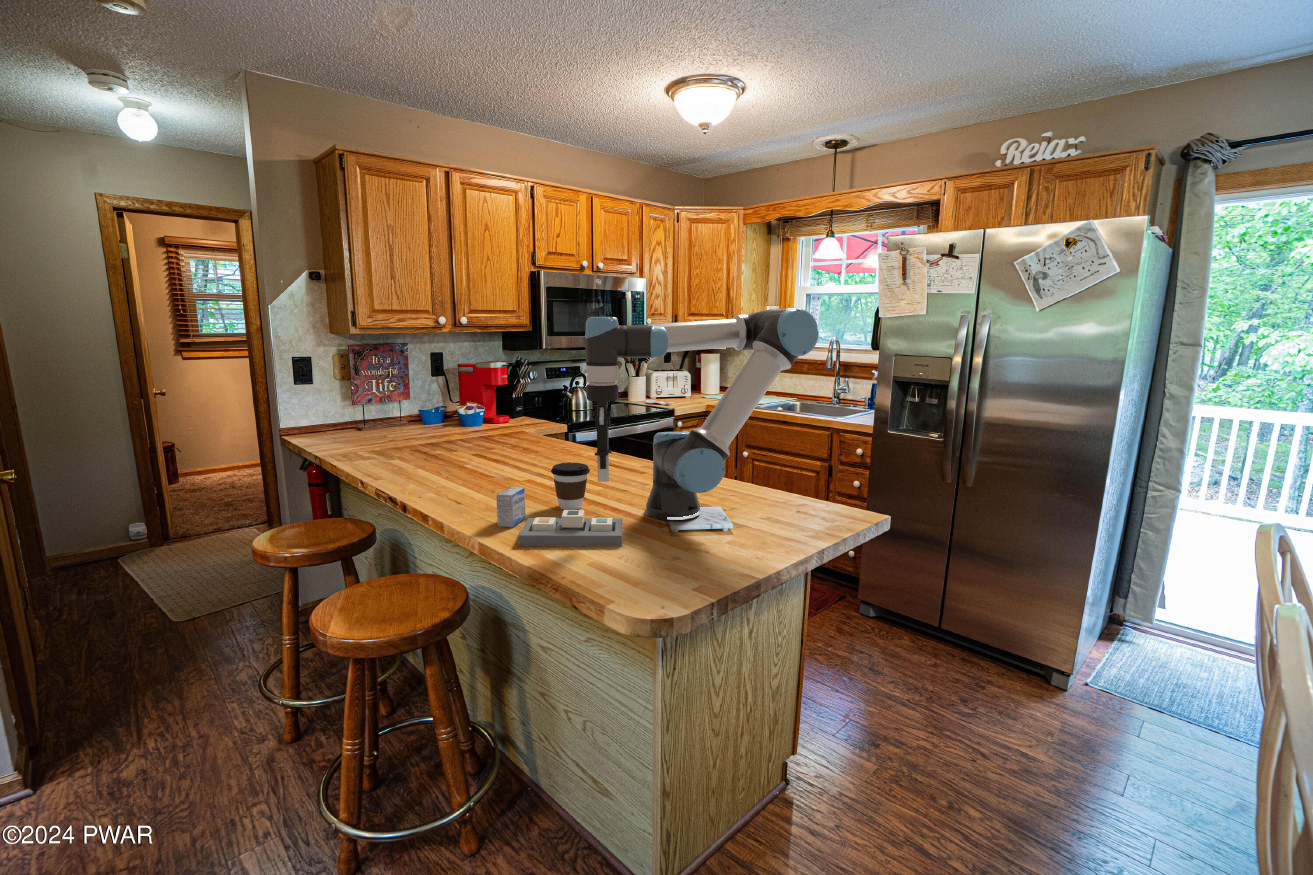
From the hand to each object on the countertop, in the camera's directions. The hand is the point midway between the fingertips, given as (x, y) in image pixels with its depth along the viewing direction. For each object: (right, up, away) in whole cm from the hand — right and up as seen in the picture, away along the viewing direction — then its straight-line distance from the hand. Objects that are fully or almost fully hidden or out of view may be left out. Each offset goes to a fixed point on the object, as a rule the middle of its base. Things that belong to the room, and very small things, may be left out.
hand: (603, 480), depth 144 cm
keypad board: (-8, -14, +2) cm, 16 cm away
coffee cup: (-12, -10, +26) cm, 30 cm away
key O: (-1, -13, +2) cm, 13 cm away
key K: (-8, -11, +1) cm, 13 cm away
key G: (-15, -13, +2) cm, 19 cm away
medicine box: (-25, -12, +12) cm, 30 cm away
